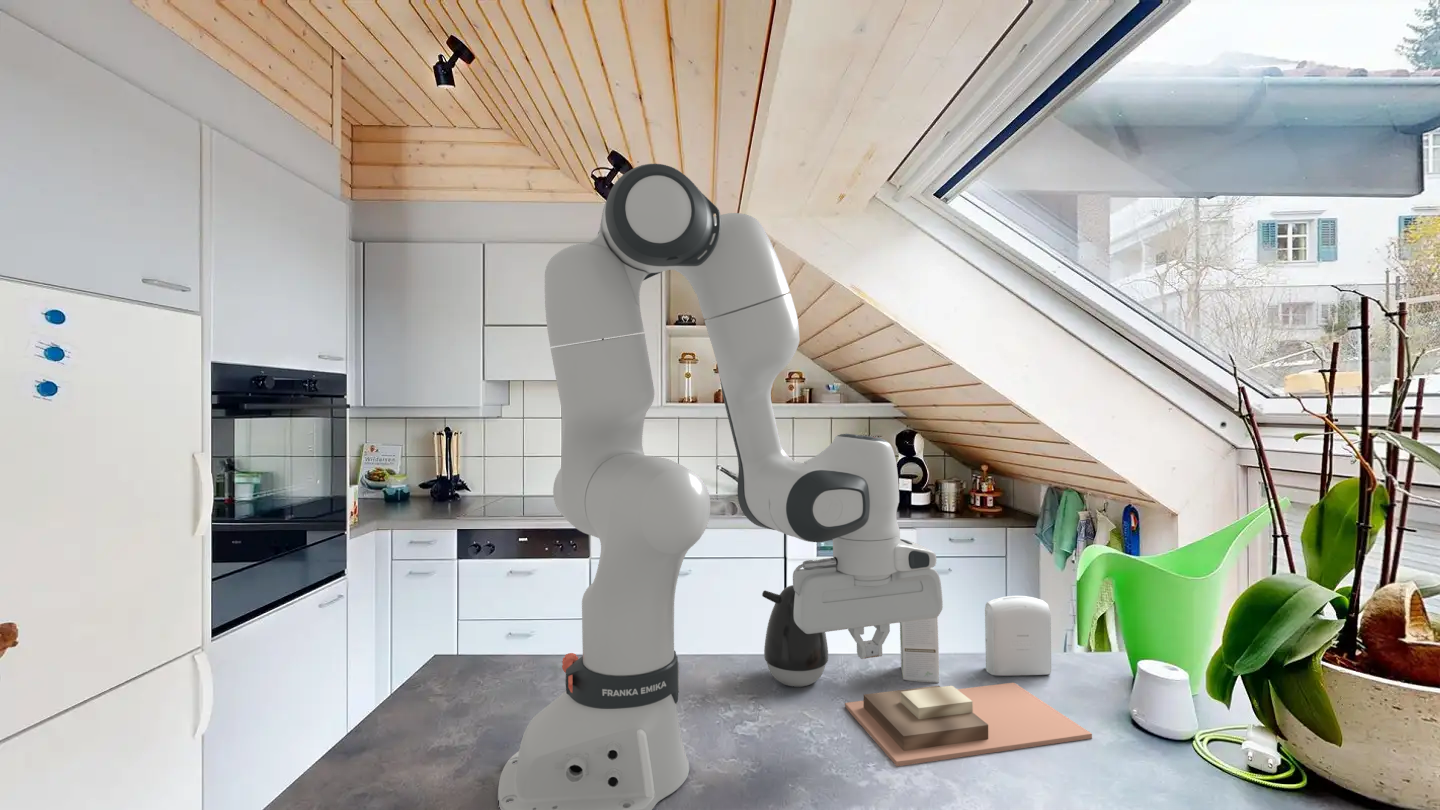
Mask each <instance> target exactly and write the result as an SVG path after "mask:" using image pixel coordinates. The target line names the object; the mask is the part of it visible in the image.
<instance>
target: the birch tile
mask: <svg viewBox="0 0 1440 810" xmlns="http://www.w3.org/2000/svg"><path fill="white" fill-rule="evenodd" d="M957 689H958V688H956V687H955V686H954V685H947V686H946V685H945V686H940V687H936V688H928V689H919V690H911V691H902V692H901V703H902V704H903V705H904V706H905V707H906V708H907V709H908V710H909V711H910V712H911V713H913V714H914V715H915V716H916V717H917V718H918V719H925V718H933V717H940V716H948V715H956V714H964V713H971V712H973V701H971V700H970V699H969V698H968V697H966V696H965V695H964V694H962V693H961V692H960V691H958V690H957Z"/></svg>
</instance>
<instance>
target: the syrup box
mask: <svg viewBox="0 0 1440 810" xmlns="http://www.w3.org/2000/svg"><path fill="white" fill-rule="evenodd" d="M938 618H939V616H938V617H937V618H932V619H924V620H916V621H908V622H900V623H899V631H900V632H899V640H900V642H899V643H900V646H899V647H900V669H901V675H902V680H903V681H910V682H918V683H919V682H920V683H940V655H939V654H940V651H939V649H940V648H939V645H940V644H939V622H938V621H939V619H938Z"/></svg>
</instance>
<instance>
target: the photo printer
mask: <svg viewBox="0 0 1440 810" xmlns="http://www.w3.org/2000/svg"><path fill="white" fill-rule="evenodd" d="M1051 616H1052V615H1051V610H1050V606H1049V604H1048V603H1047V602H1046V601H1044V600H1043V599H1039V598H1037V597H1033V596H1026V595H1008V596H1001V597H999V598H994V599H992V600H989V601H987V602H986V603H985V606H984V625H985V626H984V628H985V629H984V630H985V631H984V633H985V634H984V638H985V639H984V640H985V641H984V643H985V670H986V672H987V673H988V674H989V675H991V676H1003V677H1004V676H1007V677H1009V676H1041V675H1042V676H1043V675H1046V676H1047V675H1051V674H1052V625H1051V624H1052V621H1051V620H1052V619H1051V618H1052V617H1051Z"/></svg>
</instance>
